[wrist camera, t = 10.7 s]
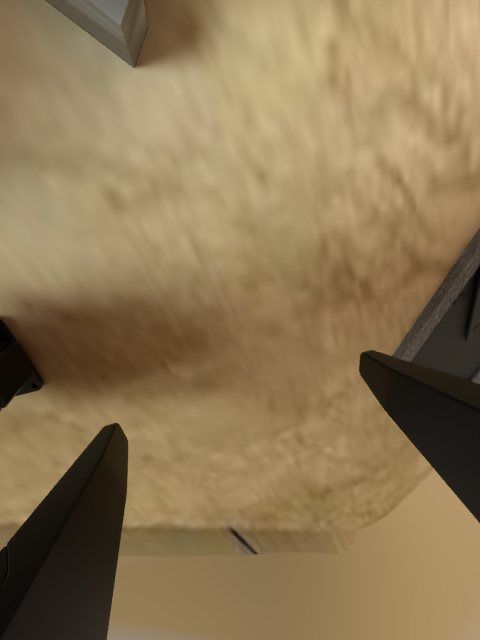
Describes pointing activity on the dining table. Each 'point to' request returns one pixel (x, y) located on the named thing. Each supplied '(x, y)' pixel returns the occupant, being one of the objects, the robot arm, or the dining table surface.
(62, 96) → the dining table surface
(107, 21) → the rail
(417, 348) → the picture frame
